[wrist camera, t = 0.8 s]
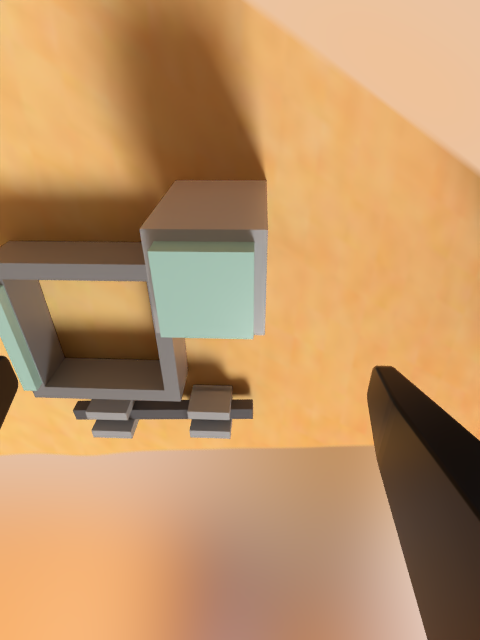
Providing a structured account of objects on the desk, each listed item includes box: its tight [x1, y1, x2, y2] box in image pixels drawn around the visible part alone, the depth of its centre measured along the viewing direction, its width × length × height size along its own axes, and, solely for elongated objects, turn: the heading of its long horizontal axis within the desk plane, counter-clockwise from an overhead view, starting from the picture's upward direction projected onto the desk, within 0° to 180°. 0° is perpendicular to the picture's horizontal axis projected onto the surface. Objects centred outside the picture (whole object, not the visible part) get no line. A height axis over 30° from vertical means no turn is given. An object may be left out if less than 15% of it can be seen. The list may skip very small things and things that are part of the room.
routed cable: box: [73, 385, 253, 439], centre depth 24 cm, size 11×2×2 cm, turn 91°
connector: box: [140, 180, 268, 339], centre depth 15 cm, size 4×4×7 cm
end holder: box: [0, 241, 188, 402], centre depth 20 cm, size 8×8×3 cm
